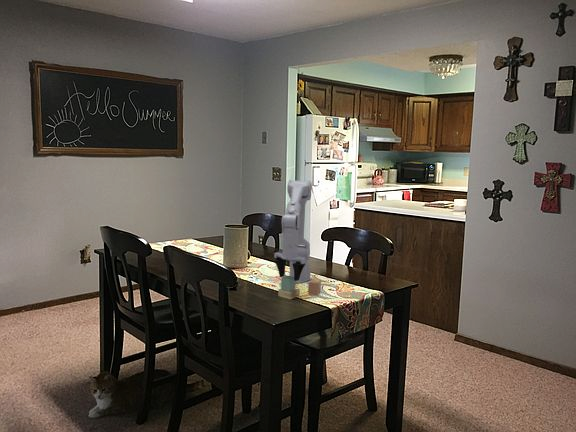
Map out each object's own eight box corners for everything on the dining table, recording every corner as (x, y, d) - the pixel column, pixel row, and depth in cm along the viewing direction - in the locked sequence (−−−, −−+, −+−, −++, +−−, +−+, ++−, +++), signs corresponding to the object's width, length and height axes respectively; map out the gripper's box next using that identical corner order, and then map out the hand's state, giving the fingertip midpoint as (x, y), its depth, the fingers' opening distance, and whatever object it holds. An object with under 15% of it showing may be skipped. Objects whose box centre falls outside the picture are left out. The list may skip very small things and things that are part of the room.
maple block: (288, 293, 206) (288, 286, 206) (299, 296, 202) (299, 289, 202) (278, 296, 202) (278, 289, 201) (289, 300, 198) (290, 292, 197)
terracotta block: (311, 291, 209) (311, 279, 208) (320, 292, 207) (320, 280, 207) (308, 294, 205) (308, 282, 204) (317, 295, 204) (317, 283, 203)
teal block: (287, 287, 204) (287, 275, 203) (295, 289, 201) (295, 277, 201) (281, 289, 201) (281, 277, 200) (289, 291, 198) (289, 279, 198)
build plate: (229, 284, 219) (229, 273, 218) (246, 285, 218) (246, 274, 217) (221, 292, 207) (221, 280, 206) (239, 293, 206) (239, 282, 205)
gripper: (269, 243, 200) (268, 276, 202) (298, 249, 191) (297, 284, 193) (281, 240, 206) (280, 273, 208) (309, 246, 196) (308, 280, 198)
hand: (289, 278), depth 201 cm, fingers open, 7 cm apart
